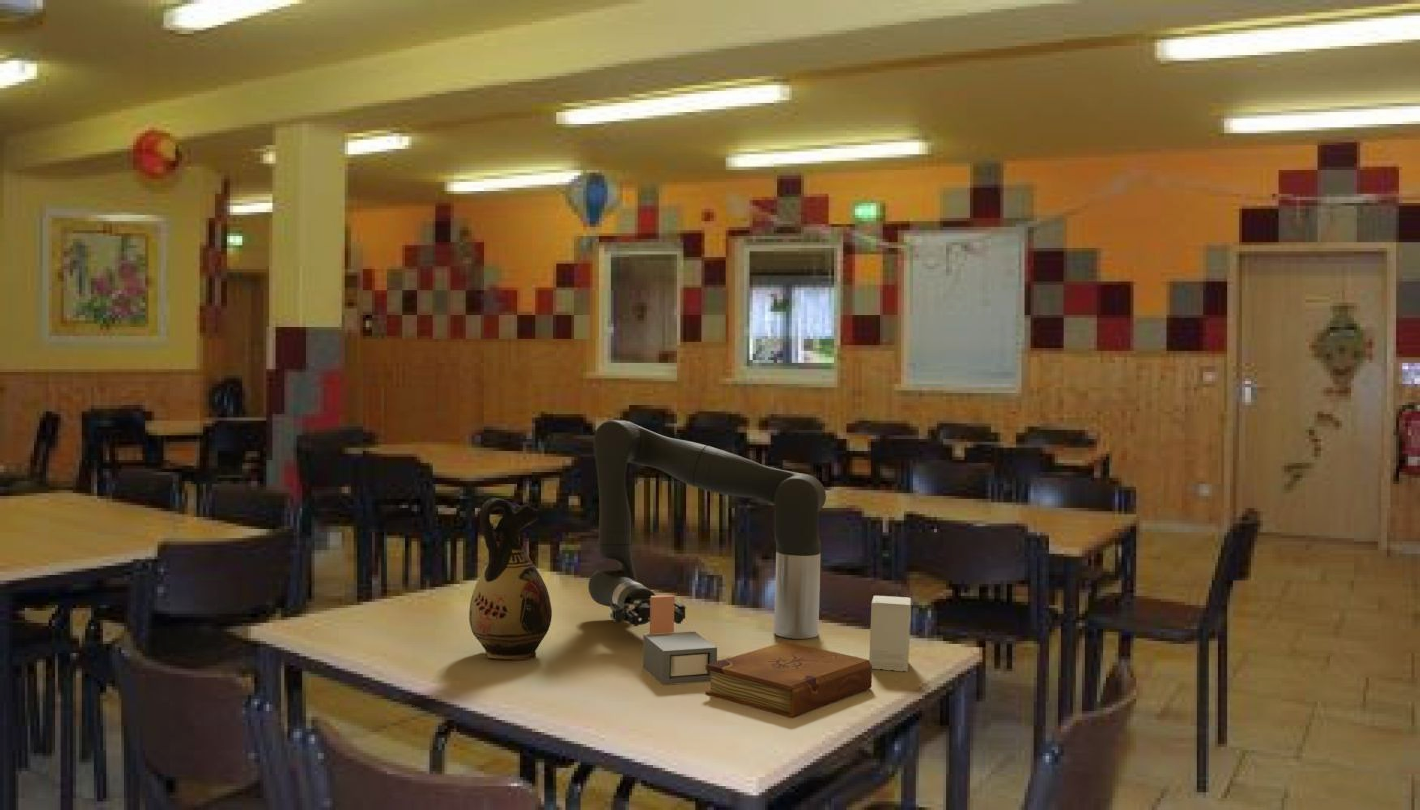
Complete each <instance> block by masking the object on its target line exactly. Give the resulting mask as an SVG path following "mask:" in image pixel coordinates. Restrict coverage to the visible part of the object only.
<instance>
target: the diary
mask: <svg viewBox="0 0 1420 810" xmlns="http://www.w3.org/2000/svg"><path fill="white" fill-rule="evenodd" d="M706 670H708V671H711V681H710V690H706V691H705V695H706V696H711V697H714V698H718V699H722V700H725V701H729V702H733V703H736V704H739V705H742V706H746V707H749V708H750V707H751V708H753V709H757V710H761V711H766V712H769V713H772V714H776V715H779V716H783V717H786V718H789V719H793V718H795V717H799V716H802V715H803V714H806V713H809V712H813V711H815V710H817V709H819V708H822V707H825V706H828V705H831V704H833V703H836V702H839V701H841V700H843V699H847V698H849V697H853V696H855V695H857V694H860V693H862V692H865V691H868V690H871V688H872V681H873V680H872V678H873V677H872V676H873V675H872V674H873V669H872V665H871V663H870V662H869V659H868V658H867V659H866V658H862V657H858V656H852V655H849V654H843V653H840V652H836V651H830V650H828V649H827V650H826V649H822V648H817V647H815V646H814V647H813V646H809V645H805V644H800V643H795V642H791V641H786V640H785V641H784V642H779V643H776V644H772V645H769V646H764V647H762V648H760V649H759V648H758V649H755V650H752V651H749V652H745V653H741V654H738V655H735V656H732V657H727V658H724V659H722V660H717V662H713V663H710V664H707V665H706ZM867 689H868V690H867ZM854 694H855V695H854Z"/></svg>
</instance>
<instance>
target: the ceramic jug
mask: <svg viewBox="0 0 1420 810" xmlns="http://www.w3.org/2000/svg"><path fill="white" fill-rule="evenodd" d="M498 509H499V510H502V517H501V518H500V519H499V521H498V523H497V525H496V527H495V529H494V531H493V528H492V523H491V519H490V518H491V513H492V512H493V511H495V510H498ZM539 517H540V516H539V515H538V513H537V512H536V510H535V509H533V507H531V506H530V505H527V504H523V505H522V506H519V504H516V505H514V507H513V506H512V505H511V504H510V502H509V501H507V500H505V499H503V498H499V497H498V498H497V497H492V498H490V499H487V500H486V501H484V503H483V504H482V505H481V507H480V511H479V526H480V528H481V532H482V534H483V535H482V536H483V539H484V541H485V542H484V543H485V547H486V548H487V551H488V563H487V564H486V566H485V567H484V568H483V571H482V572H481V574H480V576H479V577H478V579H477V582H476V584H475V586H474V589H473V592H472V595H471V600H470V603H469V609H468V610H469V611H468V612H469V613H468V619H469V626H470V630H471V632H472V634H473V636H474V637H475V638H476V639H477V641H478V642H479V643H480V644H481V646H482V647H483V648H484V651H485V653H486V654H485V655H486V657H487V658H488V659H500V660H514V661H517V660H525V659H526V660H527V659H533V658H535V657H536V655H537V653H536V651H537V649H538V647H539V646H540V645H541V643H542V641H543V640H544V638H545V637H546V635H547V634H548V632H549V629H550V628H551V627H550V626H551V623H552V617H553V616H552V615H553V610H552V605H551V598H550V594H549V591H548V588H547V587H548V586H547V585H546V583H545V581H544V580H543V577H542V576H541V574H540V573H539V571H538V569H537V567H536V565H535V564H534V563H533V561H532V560H531V558H530V557H529V556H528V555H527V553H526V552H525V550H524V547H522V546H521V544H520V543H521V542H520V538H519V533H520V532H521V531H522V530H523V529H524V528H526V527H527V526H529V525H530V524H532V523H534V522H536V521H537V520H539ZM494 532H496V533H498V534H501V537H500V542H499V545H498V544H497V541H496V538H495V535H494Z"/></svg>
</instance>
